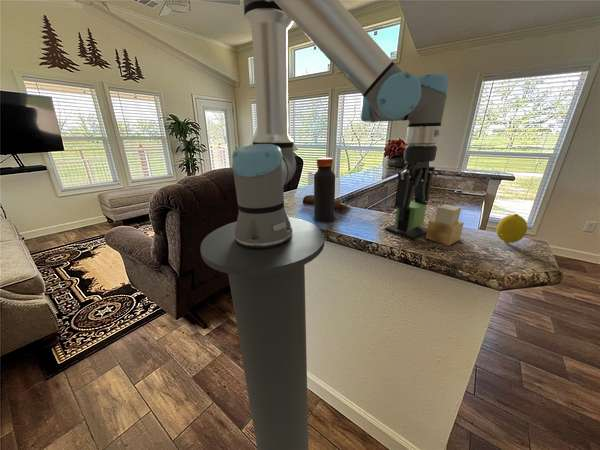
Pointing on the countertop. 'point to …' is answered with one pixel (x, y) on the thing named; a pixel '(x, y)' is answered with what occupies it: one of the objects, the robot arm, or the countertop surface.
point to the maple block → (444, 232)
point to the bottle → (324, 190)
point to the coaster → (408, 231)
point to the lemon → (511, 228)
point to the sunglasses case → (337, 204)
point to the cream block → (447, 214)
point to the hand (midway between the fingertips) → (408, 227)
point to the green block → (414, 214)
